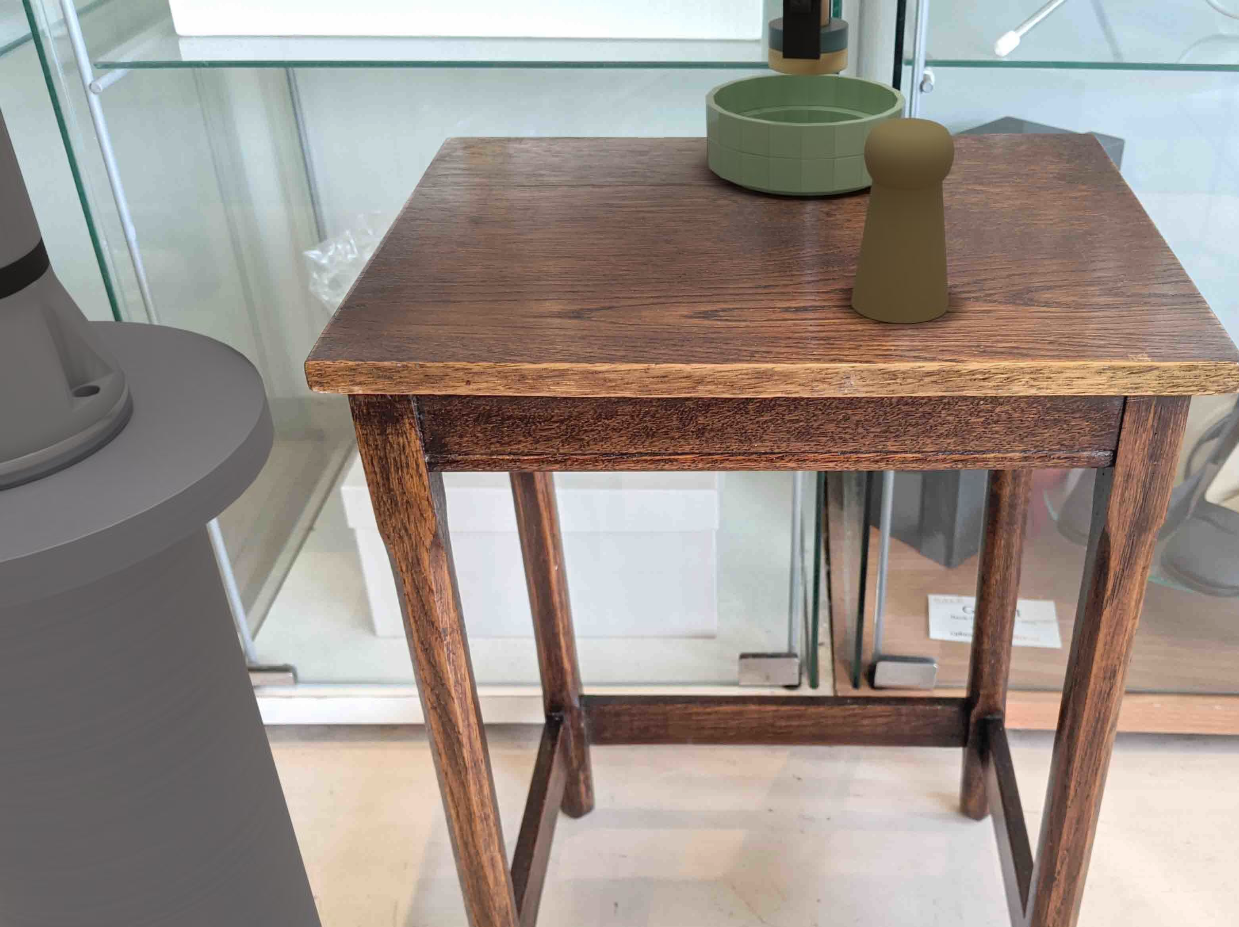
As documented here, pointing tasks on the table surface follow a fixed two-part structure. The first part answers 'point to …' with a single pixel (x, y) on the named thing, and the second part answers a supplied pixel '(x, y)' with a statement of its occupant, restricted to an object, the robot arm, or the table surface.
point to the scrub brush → (831, 47)
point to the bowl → (796, 131)
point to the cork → (904, 223)
